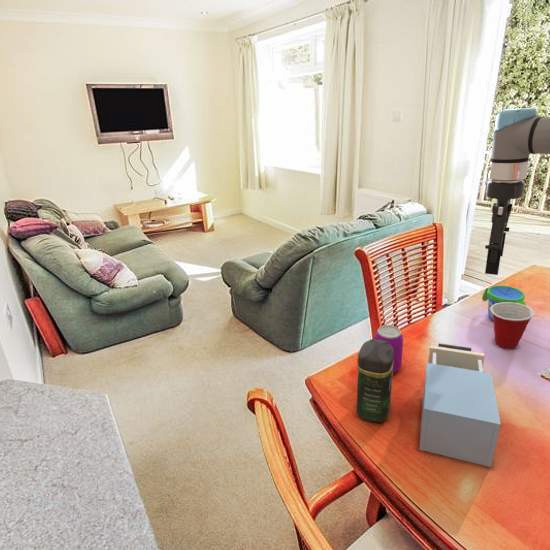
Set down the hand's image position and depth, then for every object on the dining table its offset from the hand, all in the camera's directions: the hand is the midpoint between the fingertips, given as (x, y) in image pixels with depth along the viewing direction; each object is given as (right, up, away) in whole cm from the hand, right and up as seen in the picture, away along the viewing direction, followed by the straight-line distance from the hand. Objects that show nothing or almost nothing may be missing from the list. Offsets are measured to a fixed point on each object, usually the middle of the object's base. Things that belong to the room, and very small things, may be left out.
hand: (494, 264), depth 96 cm
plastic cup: (+14, -24, +18) cm, 33 cm away
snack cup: (+20, -18, +30) cm, 40 cm away
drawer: (-11, -33, 0) cm, 34 cm away
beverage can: (-24, -29, +12) cm, 40 cm away
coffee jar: (-31, -37, -2) cm, 48 cm away
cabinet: (-15, -38, -10) cm, 43 cm away
